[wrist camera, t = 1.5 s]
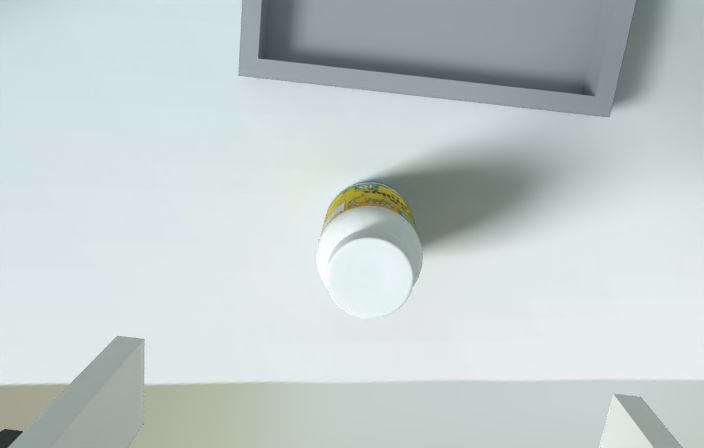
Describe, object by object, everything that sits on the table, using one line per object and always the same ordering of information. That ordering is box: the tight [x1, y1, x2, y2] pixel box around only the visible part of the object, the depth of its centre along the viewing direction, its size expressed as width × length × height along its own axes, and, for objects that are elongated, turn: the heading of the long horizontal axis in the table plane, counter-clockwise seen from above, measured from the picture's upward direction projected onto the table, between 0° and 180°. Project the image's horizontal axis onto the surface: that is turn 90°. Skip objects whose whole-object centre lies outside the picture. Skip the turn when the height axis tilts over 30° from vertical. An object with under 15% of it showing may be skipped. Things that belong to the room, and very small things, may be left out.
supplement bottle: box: [316, 183, 422, 319], centre depth 30 cm, size 5×5×10 cm
